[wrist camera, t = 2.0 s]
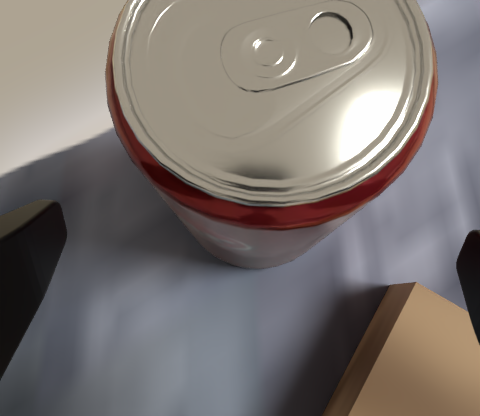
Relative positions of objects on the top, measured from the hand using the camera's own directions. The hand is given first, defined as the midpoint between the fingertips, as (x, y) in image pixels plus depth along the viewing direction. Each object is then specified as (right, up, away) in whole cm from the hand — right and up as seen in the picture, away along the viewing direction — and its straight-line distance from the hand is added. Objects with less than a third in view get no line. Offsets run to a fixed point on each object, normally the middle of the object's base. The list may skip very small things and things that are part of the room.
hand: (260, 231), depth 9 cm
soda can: (0, +1, +11) cm, 11 cm away
